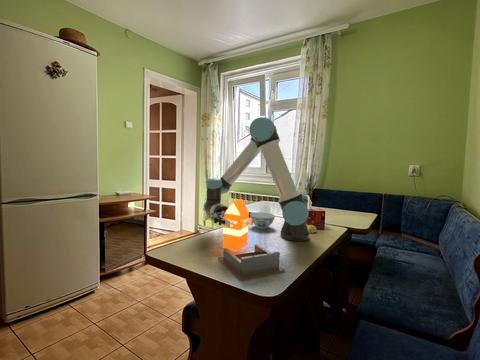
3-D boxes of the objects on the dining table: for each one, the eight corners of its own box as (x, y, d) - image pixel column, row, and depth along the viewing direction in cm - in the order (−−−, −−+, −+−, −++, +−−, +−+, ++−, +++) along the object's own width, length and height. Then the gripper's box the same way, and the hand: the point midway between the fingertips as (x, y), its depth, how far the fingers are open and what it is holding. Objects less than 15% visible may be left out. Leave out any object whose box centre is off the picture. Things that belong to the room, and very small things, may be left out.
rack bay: (218, 259, 101) (218, 242, 100) (256, 253, 109) (257, 237, 108) (240, 281, 83) (241, 261, 82) (284, 272, 91) (285, 254, 91)
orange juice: (222, 247, 105) (224, 200, 103) (231, 241, 113) (233, 197, 111) (239, 251, 102) (241, 202, 100) (247, 244, 110) (250, 199, 108)
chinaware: (278, 226, 155) (278, 214, 154) (268, 232, 142) (268, 218, 141) (256, 223, 163) (256, 211, 162) (245, 227, 150) (245, 215, 149)
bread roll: (302, 228, 154) (303, 222, 154) (317, 231, 149) (317, 224, 149) (298, 231, 147) (298, 224, 147) (313, 234, 142) (313, 227, 142)
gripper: (240, 218, 128) (263, 229, 108) (197, 221, 118) (214, 234, 98) (241, 203, 127) (264, 212, 107) (198, 205, 117) (215, 215, 97)
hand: (240, 223), depth 103 cm, fingers closed on orange juice, 10 cm apart
